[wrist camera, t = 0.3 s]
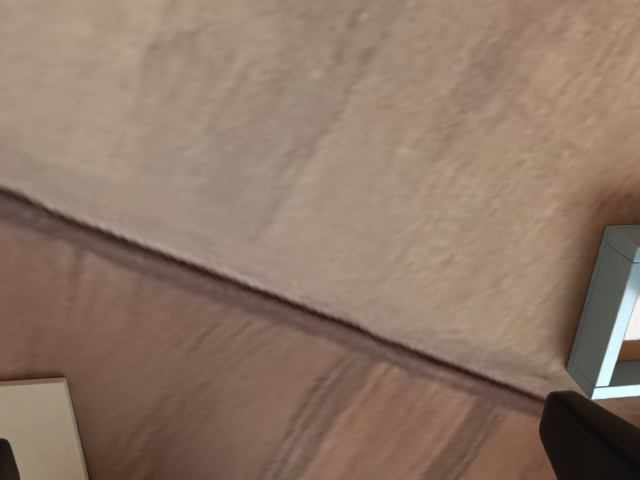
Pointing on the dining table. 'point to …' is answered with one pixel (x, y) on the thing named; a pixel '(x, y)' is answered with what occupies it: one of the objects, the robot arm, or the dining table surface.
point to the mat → (41, 429)
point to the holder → (611, 320)
